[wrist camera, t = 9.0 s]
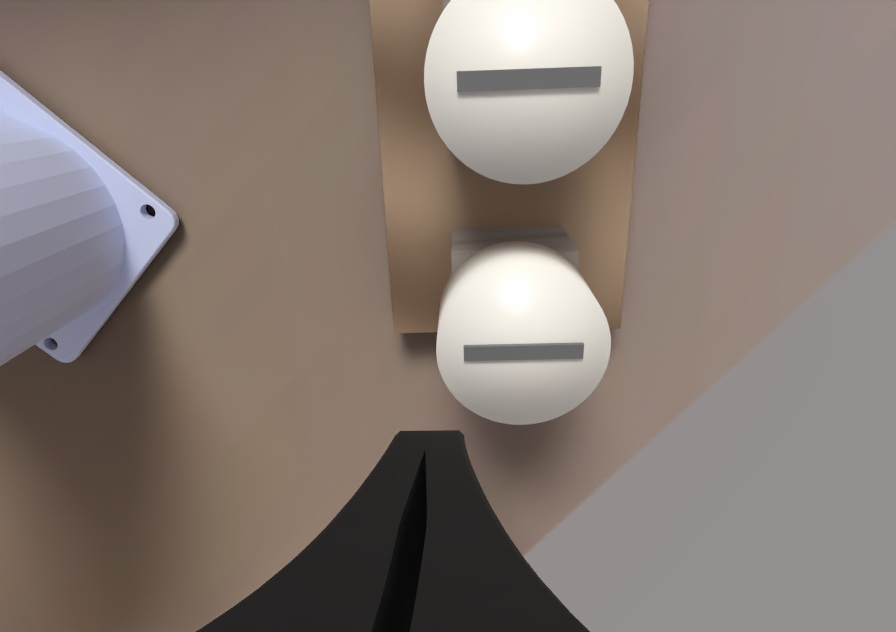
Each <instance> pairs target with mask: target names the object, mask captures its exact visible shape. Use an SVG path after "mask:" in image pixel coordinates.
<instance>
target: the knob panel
mask: <svg viewBox="0 0 896 632" xmlns="http://www.w3.org/2000/svg"><path fill="white" fill-rule="evenodd" d="M450 1H451V0H369V4H370V17H371V30H372V44H373V57H374V70H375V84H376V97H377V110H378V124H379V137H380V150H381V164H382V177H383V190H384V204H385V217H386V230H387V244H388V257H389V270H390V284H391V297H392V310H393V324H394V333H430V332H437V331H438V320H439V309H440V302H441V297H442V294H443V291H444V288H445V286H446V284H447V282H448V280H449V279H450V277H451V276H452V274H453V273H454V271H455V270H456V269H457V268H458V267H459V266H460V265H461V264H462V263H463V262H464V261H465V260H466V259H467V258H469V257H470V256H472V255H473V254H475V253H476V252H478V251H480V250H482V249H484V248H486V247H489V246H492V245H495V244H499V243H504V242H513V241H524V242H532V243H537V244H540V245H544V246H547V247H549V248H551V249H553V250H555V251H557V252H558V253H560V254H562V255H563V256H565V257H566V258H567V259H568V260H569V261H570V262H572V264H573V265H574V266H575V267H576V268H577V269H578V271H579V272H580V274H581V275H582V277H583V278H584V280H585V282H586V283H587V285H588V287H589V288H590V290H591V292H592V293H593V295H594V297H595V298H596V300H597V301H598V303H599V305H600V306H601V308H602V310H603V312H604V314H605V316H606V319H607V322H608V325H609V329H615V328H620V324H621V312H622V301H623V290H624V278H625V267H626V256H627V245H628V233H629V222H630V211H631V199H632V188H633V177H634V165H635V154H636V143H637V132H638V120H639V109H640V98H641V86H642V75H643V64H644V53H645V41H646V30H647V19H648V7H649V0H614V1H615V3H616V4H617V6H618V8H619V9H620V11H621V13H622V15H623V17H624V19H625V22H626V25H627V27H628V30H629V34H630V38H631V42H632V48H633V58H634V72H633V82H632V89H631V93H630V97H629V101H628V104H627V107H626V109H625V112H624V114H623V117H622V119H621V121H620V123H619V125H618V126H617V128H616V130H615V132H614V133H613V134H612V136H611V137H610V139H609V140H608V142H607V143H606V144H605V145H604V146H603V147H602V148H601V150H600V151H599V152H598V153H597V154H596V155H595V156H593V157H592V158H591V159H590V160H589V161H588V162H586V163H585V164H583V165H582V166H581V167H579V168H578V169H576V170H574V171H572V172H570V173H569V174H567V175H565V176H562V177H559V178H557V179H554V180H551V181H547V182H542V183H537V184H510V183H504V182H500V181H496V180H493V179H490V178H487V177H485V176H483V175H481V174H479V173H477V172H475V171H474V170H472V169H471V168H469V167H468V166H466V165H465V164H464V163H463V162H461V161H460V160H459V159H458V158H457V157H456V156H455V155H454V154H453V153H452V152H451V151H450V150H449V149H448V147H447V146H446V145H445V143H444V142H443V140H442V139H441V137H440V136H439V134H438V132H437V130H436V128H435V126H434V124H433V121H432V119H431V116H430V113H429V110H428V106H427V102H426V97H425V88H424V66H425V58H426V52H427V48H428V44H429V41H430V37H431V35H432V32H433V30H434V27H435V25H436V23H437V21H438V19H439V17H440V16H441V14H442V12H443V10H444V9H445V8H446V6H447V5H448V3H449V2H450Z"/></svg>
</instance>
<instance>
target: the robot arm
mask: <svg viewBox="0 0 896 632" xmlns="http://www.w3.org/2000/svg"><path fill="white" fill-rule="evenodd" d="M147 204H148V205H150V206H152V207H153V208H154V209H155V213H156V214H155V217H153V216H151V215H149V214H148V213H147V211H146V206H147ZM178 225H179V218H178V216H177V214H176V212H175V211H174V210H173V209H172V208H170V207H169V206H168V205H167V204H165V203H164V202H163V201H162V200H161V199H159V198H158V197H157V196H156V195H154V194H153V193H152V192H151V191H149V190H148V189H147V188H146V187H144V186H143V185H142V184H141V183H139V182H138V181H137V180H136V179H134V178H133V177H132V176H131V175H129V174H128V173H127V172H126V171H125V170H123V169H122V168H121V167H120V166H118V165H117V164H116V163H115V162H113V161H112V160H111V159H110V158H108V157H107V156H106V155H105V154H103V153H102V152H101V151H100V150H98V149H97V148H96V147H95V146H93V145H92V144H91V143H90V142H89V141H87V140H86V139H85V138H84V137H82V136H81V135H80V134H79V133H77V132H76V131H75V130H74V129H72V128H71V127H70V126H69V125H67V124H66V123H65V122H64V121H62V120H61V119H60V118H59V117H57V116H56V115H55V114H54V113H52V112H51V111H50V110H49V109H48V108H46V107H45V106H44V105H43V104H41V103H40V102H39V101H38V100H36V99H35V98H34V97H33V96H31V95H30V94H29V93H28V92H26V91H25V90H24V89H23V88H21V87H20V86H19V85H18V84H16V83H15V82H14V81H13V80H12V79H10V78H9V77H8V76H7V75H5V74H4V73H3V72H2V71H0V366H1V365H3V364H5V363H6V362H8V361H9V360H11V359H12V358H14V357H16V356H17V355H19V354H20V353H22V352H24V351H25V350H27V349H28V348H30V347H32V346H33V345H36V346H37V347H39V348H40V349H42V350H43V351H45V352H46V353H48V354H49V355H50V356H52V357H53V358H55V359H56V360H58V361H60V362H63V363H70V362H72V361H74V360H75V359H76V358H78V357H79V356H80V355H81V353H82V352H83V351H84V349H85V348H86V347H87V345H88V344H89V343H90V342H91V340H92V339H93V338H94V336H95V335H96V334H97V332H98V331H99V330H100V328H101V327H102V326H103V325H104V323H105V322H106V321H107V319H108V318H109V317H110V315H111V314H112V313H113V312H114V310H115V309H116V308H117V306H118V305H119V304H120V302H121V301H122V300H123V298H124V297H125V296H126V295H127V293H128V292H129V291H130V289H131V288H132V287H133V285H134V284H135V283H136V281H137V280H138V279H139V278H140V276H141V275H142V274H143V272H144V271H145V270H146V268H147V267H148V266H149V265H150V263H151V262H152V261H153V259H154V258H155V257H156V255H157V254H158V253H159V251H160V250H161V249H162V248H163V246H164V245H165V244H166V242H167V241H168V240H169V238H170V237H171V236H172V234H173V233H174V232H175V231H176V229H177V227H178ZM50 338H52V339H54V340H55V341H56V342H57V345H58V346H57V345H55V344H53V343H52V342H51V339H50ZM196 632H590V631H589V630H588V629H587V628H586V627H585V626H584V625H583V624H582V623H580V621H579V620H578V619H576V618H575V617H574V616H573V615H572V614H571V613H570V612H569V610H568V609H567V608H566V607H565V606H564V605H563V604H562V603H561V601H560V600H559V599H558V598H557V597H556V596H555V595H554V594H553V593H552V591H551V590H550V589H549V588H548V587H547V586H546V585H545V584H544V583H543V582H542V580H541V579H540V578H539V577H538V575H537V574H536V573H535V572H534V571H533V569H532V568H531V566H530V565H529V564H528V563H527V561H526V560H525V559H524V557H523V556H522V555H521V553H520V552H519V550H518V549H517V548H516V546H515V545H514V543H513V542H512V540H511V539H510V537H509V536H508V534H507V533H506V531H505V530H504V528H503V526H502V525H501V523H500V521H499V520H498V518H497V516H496V515H495V513H494V511H493V509H492V508H491V506H490V504H489V502H488V500H487V498H486V496H485V494H484V492H483V490H482V488H481V486H480V484H479V482H478V480H477V477H476V475H475V473H474V470H473V468H472V465H471V462H470V460H469V457H468V454H467V450H466V446H465V441H464V435H463V434H462V433H461V432H460V431H459V430H458V431H400V432H399V433H398V434H397V435H396V436H395V437H394V439H393V440H392V442H391V444H390V445H389V447H388V449H387V450H386V452H385V453H384V455H383V456H382V458H381V459H380V461H379V462H378V464H377V465H376V466H375V468H374V469H373V471H372V472H371V473H370V475H369V476H368V477H367V479H366V480H365V481H364V483H363V484H362V485H361V487H360V488H359V489H358V491H357V492H356V493H355V494H354V496H353V497H352V498H351V499H350V500H349V502H348V503H347V504H346V505H345V506H344V507H343V509H342V510H341V511H340V512H339V513H338V514H337V516H336V517H335V518H334V519H333V520H332V521H331V522H330V523H329V525H328V526H327V527H326V528H325V529H324V530H323V531H322V532H321V533H320V534H319V535H318V536H317V537H316V538H315V539H314V540H313V541H312V542H311V543H310V544H309V545H308V546H307V547H306V548H305V549H304V550H303V551H302V552H301V553H300V554H299V555H298V556H296V557H295V558H294V559H293V560H292V561H291V562H290V563H288V564H287V565H286V566H285V567H284V568H283V569H282V570H280V571H279V572H278V573H277V574H276V575H274V576H273V577H272V578H271V579H270V580H268V581H267V582H266V583H265V584H263V585H262V586H261V587H260V588H259V589H257V590H256V591H255V592H253V593H252V594H251V595H249V596H248V597H246V598H245V599H244V600H242V601H241V602H240V603H238V604H237V605H235V606H234V607H233V608H231V609H230V610H228V611H227V612H225V613H224V614H222V615H221V616H219V617H218V618H216V619H215V620H213V621H212V622H210V623H209V624H207V625H206V626H204V627H203V628H201V629H200V630H198V631H196Z"/></svg>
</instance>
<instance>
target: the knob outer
mask: <svg viewBox="0 0 896 632" xmlns="http://www.w3.org/2000/svg"><path fill="white" fill-rule="evenodd" d="M610 350H611V336H610V329H609V325H608V322H607V319H606V316H605V314H604V312H603V310H602V308H601V306H600V305H599V303H598V301H597V300H596V298H595V297H594V295H593V293H592V292H591V290H590V288H589V287H588V285H587V283H586V282H585V280H584V278H583V277H582V275H581V274H580V272H579V271H578V269H577V268H576V267H575V266H574V265H573V264H572V262H570V261H569V260H568V259H567V258H566V257H565V256H563V255H562V254H560V253H558V252H557V251H555V250H553V249H551V248H549V247H547V246H544V245H540V244H537V243H532V242H524V241H513V242H504V243H499V244H495V245H492V246H489V247H486V248H484V249H482V250H480V251H478V252H476V253H475V254H473V255H472V256H470V257H469V258H467V259H466V260H465V261H464V262H463V263H462V264H461V265H460V266H459V267H458V268H457V269H456V270H455V271H454V273H453V274H452V276H451V277H450V279H449V280H448V282H447V284H446V286H445V288H444V291H443V294H442V297H441V302H440V309H439V320H438V331H437V342H436V355H437V363H438V367H439V371H440V374H441V376H442V378H443V381H444V383H445V384H446V386H447V388H448V389H449V391H450V392H451V393H452V394H453V396H454V397H455V398H456V399H457V400H458V401H459V402H460V403H461V404H462V405H463V406H465V407H466V408H468V409H469V410H470V411H472V412H474V413H476V414H477V415H479V416H481V417H484V418H486V419H489V420H492V421H495V422H499V423H504V424H511V425H527V424H536V423H541V422H545V421H549V420H552V419H555V418H557V417H559V416H562V415H564V414H566V413H567V412H569V411H571V410H573V409H574V408H575V407H577V406H578V405H579V404H581V403H582V402H583V401H584V400H585V399H586V398H587V397H588V396H589V395H590V394H591V393H592V392H593V391H594V389H595V388H596V387H597V385H598V384H599V382H600V381H601V379H602V377H603V375H604V373H605V370H606V368H607V365H608V361H609V357H610Z"/></svg>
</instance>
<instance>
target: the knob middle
mask: <svg viewBox="0 0 896 632" xmlns="http://www.w3.org/2000/svg"><path fill="white" fill-rule="evenodd" d="M633 72H634V58H633V48H632V42H631V38H630V34H629V30H628V27H627V25H626V22H625V19H624V17H623V15H622V13H621V11H620V9H619V8H618V6H617V4H616V3H615V1H614V0H451V1H450V2H449V3H448V5H447V6H446V8H445V9H444V10H443V12H442V14H441V16H440V17H439V19H438V21H437V23H436V25H435V27H434V30H433V32H432V35H431V37H430V41H429V44H428V48H427V52H426V58H425V66H424V88H425V97H426V102H427V106H428V110H429V113H430V116H431V119H432V121H433V124H434V126H435V128H436V130H437V132H438V134H439V136H440V137H441V139H442V140H443V142H444V143H445V145H446V146H447V147H448V149H449V150H450V151H451V152H452V153H453V154H454V155H455V156H456V157H457V158H458V159H459V160H460V161H461V162H463V163H464V164H465V165H466V166H468V167H469V168H471V169H472V170H474V171H475V172H477V173H479V174H481V175H483V176H485V177H487V178H490V179H493V180H496V181H500V182H504V183H510V184H537V183H542V182H547V181H551V180H554V179H557V178H559V177H562V176H565V175H567V174H569V173H570V172H572V171H574V170H576V169H578V168H579V167H581V166H582V165H583V164H585V163H586V162H588V161H589V160H590V159H591V158H592V157H593V156H595V155H596V154H597V153H598V152H599V151H600V150H601V148H602V147H603V146H604V145H605V144H606V143H607V142H608V140H609V139H610V137H611V136H612V134H613V133H614V132H615V130H616V128H617V126H618V125H619V123H620V121H621V119H622V117H623V114H624V112H625V109H626V107H627V104H628V101H629V97H630V93H631V89H632V82H633Z"/></svg>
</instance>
